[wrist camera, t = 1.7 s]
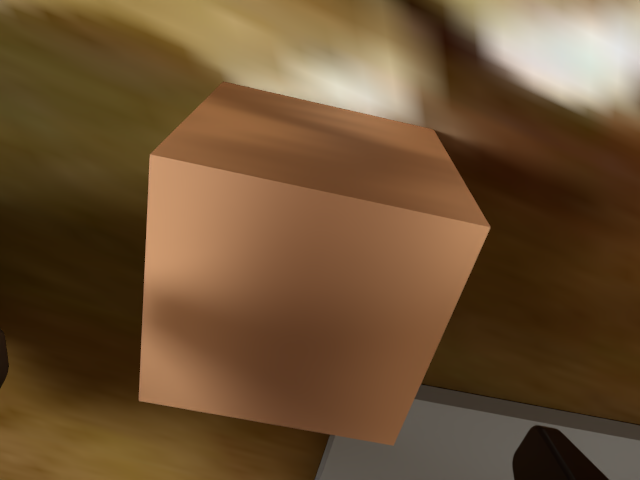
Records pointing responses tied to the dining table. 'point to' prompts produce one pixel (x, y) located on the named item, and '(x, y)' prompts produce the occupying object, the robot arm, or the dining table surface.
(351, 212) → the cube
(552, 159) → the dining table surface
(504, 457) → the mat
